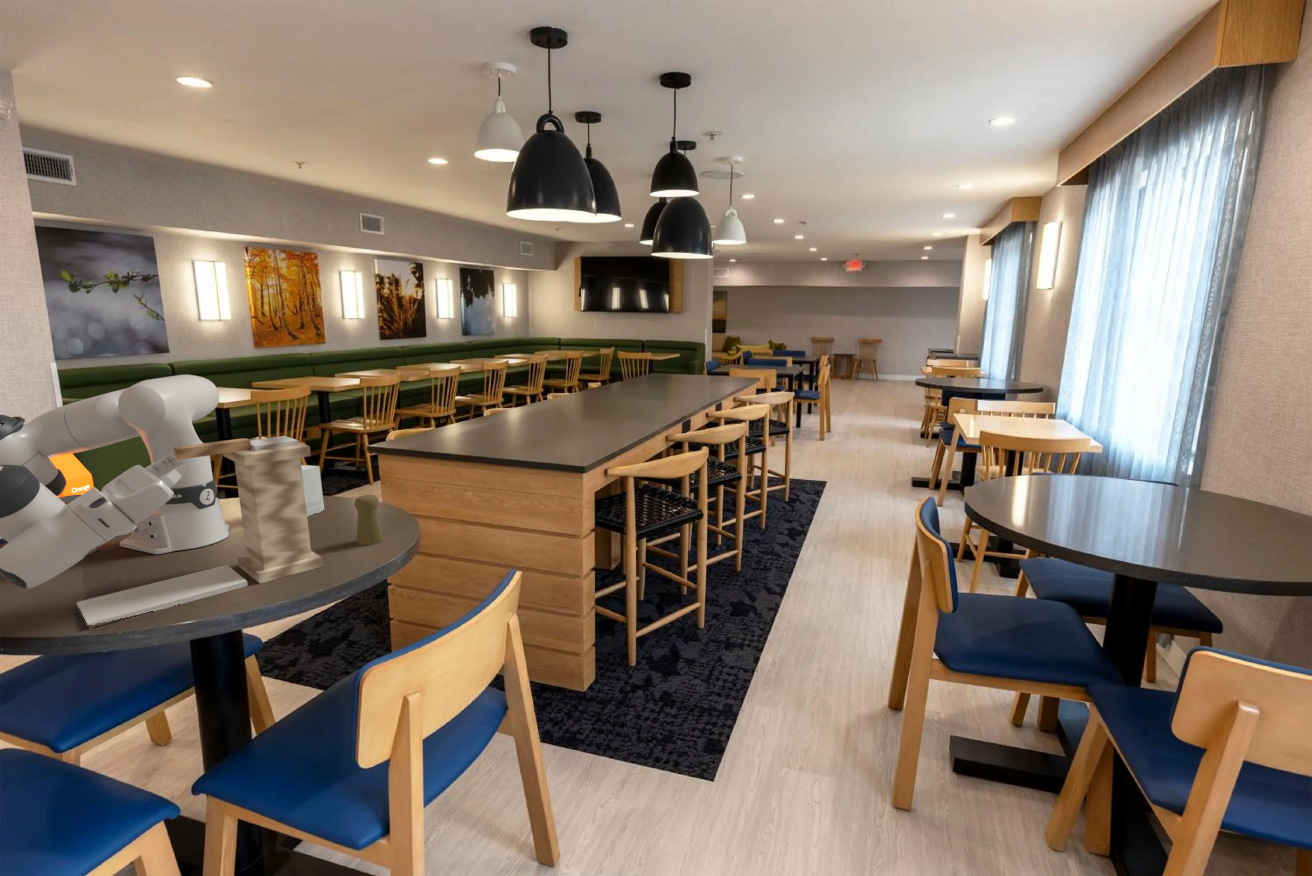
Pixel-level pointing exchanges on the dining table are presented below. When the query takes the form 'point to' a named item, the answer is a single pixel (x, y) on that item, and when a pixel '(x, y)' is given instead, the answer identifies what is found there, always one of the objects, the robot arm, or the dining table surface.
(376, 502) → the cork
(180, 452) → the turner
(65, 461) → the orange juice
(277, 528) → the stand
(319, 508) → the supplement box
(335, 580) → the dining table surface
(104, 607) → the mat
